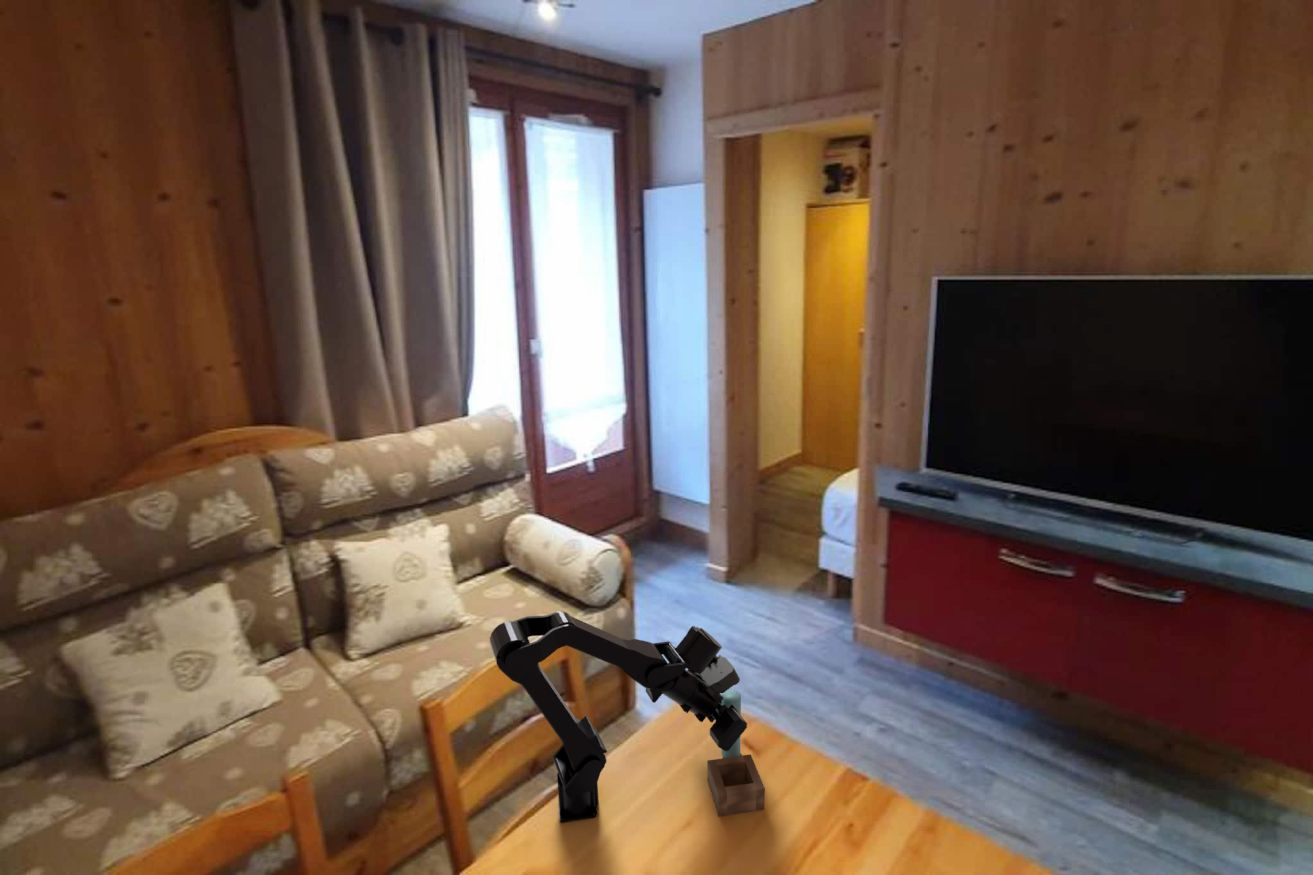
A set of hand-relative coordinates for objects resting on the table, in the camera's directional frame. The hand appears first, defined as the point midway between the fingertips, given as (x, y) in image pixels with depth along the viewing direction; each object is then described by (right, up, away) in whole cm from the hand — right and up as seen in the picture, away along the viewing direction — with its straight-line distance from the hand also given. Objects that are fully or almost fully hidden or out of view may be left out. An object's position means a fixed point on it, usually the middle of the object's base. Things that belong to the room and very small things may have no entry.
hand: (737, 722), depth 129 cm
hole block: (-1, -9, -8) cm, 13 cm away
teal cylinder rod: (-1, -7, +1) cm, 7 cm away
